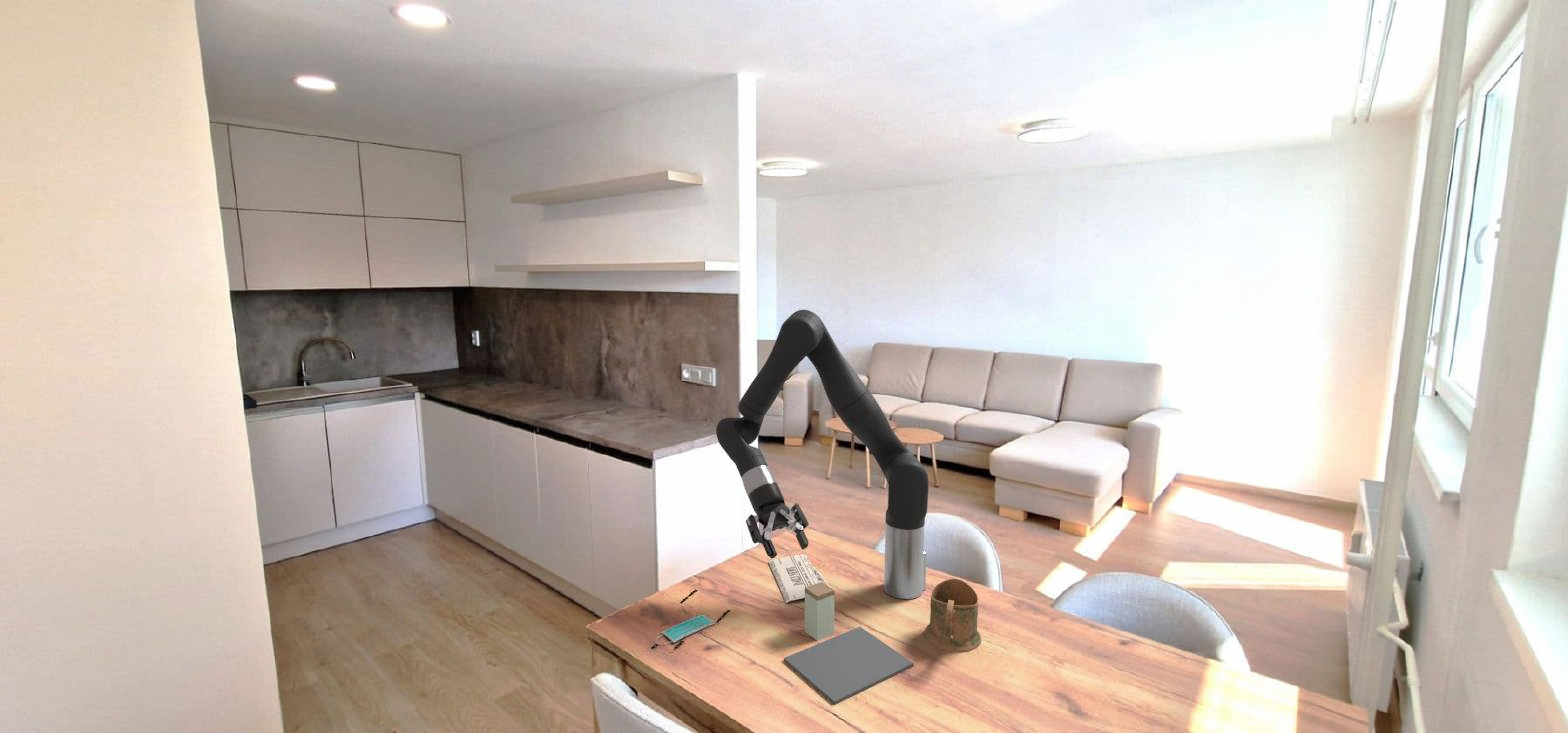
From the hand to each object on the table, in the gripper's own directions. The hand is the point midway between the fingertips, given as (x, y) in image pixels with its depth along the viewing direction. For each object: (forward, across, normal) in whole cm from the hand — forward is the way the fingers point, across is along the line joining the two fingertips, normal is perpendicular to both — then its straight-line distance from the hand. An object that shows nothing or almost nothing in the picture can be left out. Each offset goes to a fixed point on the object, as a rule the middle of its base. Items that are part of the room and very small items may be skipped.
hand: (790, 552), depth 145 cm
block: (+18, 0, +2) cm, 18 cm away
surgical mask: (+6, -22, +15) cm, 27 cm away
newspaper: (+3, +11, +18) cm, 22 cm away
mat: (+26, -2, -6) cm, 27 cm away
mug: (+31, +20, -11) cm, 39 cm away
